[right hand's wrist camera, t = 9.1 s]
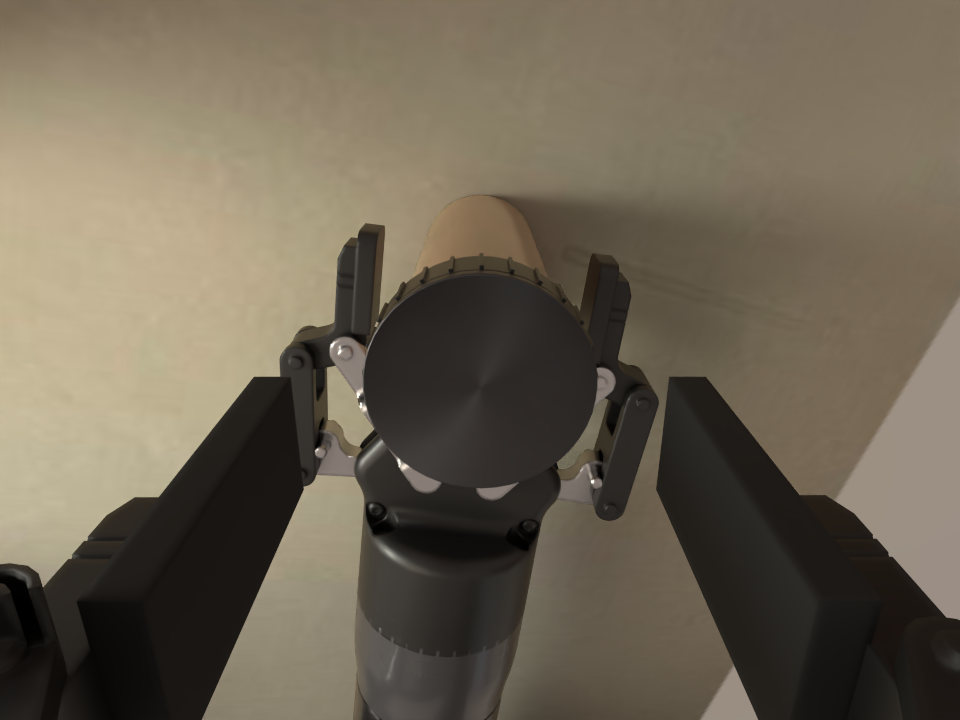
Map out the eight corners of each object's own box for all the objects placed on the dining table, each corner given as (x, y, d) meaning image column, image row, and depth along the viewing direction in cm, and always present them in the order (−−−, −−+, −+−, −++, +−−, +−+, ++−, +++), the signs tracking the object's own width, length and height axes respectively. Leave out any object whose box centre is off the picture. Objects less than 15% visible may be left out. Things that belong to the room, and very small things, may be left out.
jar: (490, 321, 32) (498, 498, 18) (405, 260, 31) (343, 399, 17) (555, 238, 31) (619, 362, 17) (468, 171, 30) (458, 244, 16)
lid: (500, 490, 20) (502, 529, 18) (328, 380, 18) (313, 410, 17) (634, 339, 18) (651, 366, 16) (455, 205, 17) (452, 218, 15)
